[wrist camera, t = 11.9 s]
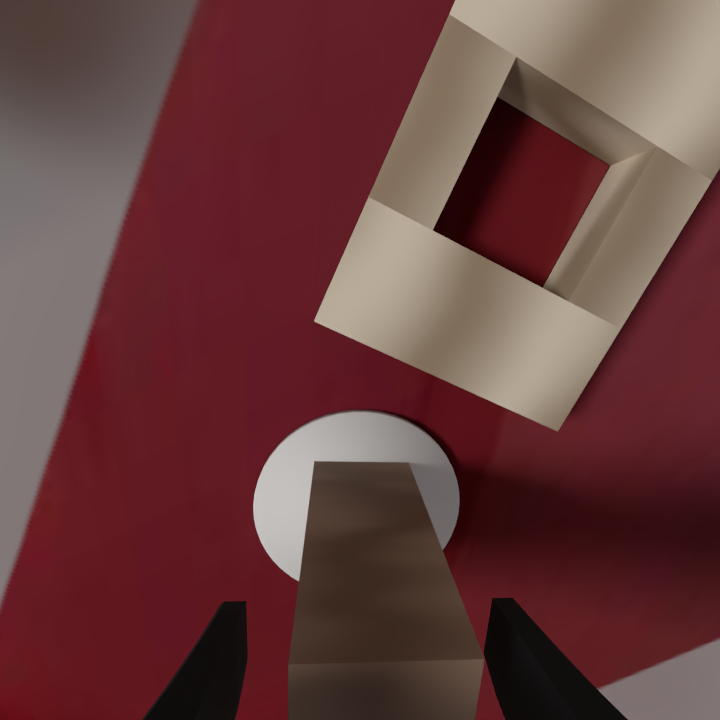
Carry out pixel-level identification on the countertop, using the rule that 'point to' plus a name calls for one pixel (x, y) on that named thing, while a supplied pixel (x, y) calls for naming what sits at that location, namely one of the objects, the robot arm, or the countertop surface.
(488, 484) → the countertop surface
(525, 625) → the robot arm
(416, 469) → the coaster
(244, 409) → the countertop surface
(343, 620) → the plug peg
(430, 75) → the holder block
